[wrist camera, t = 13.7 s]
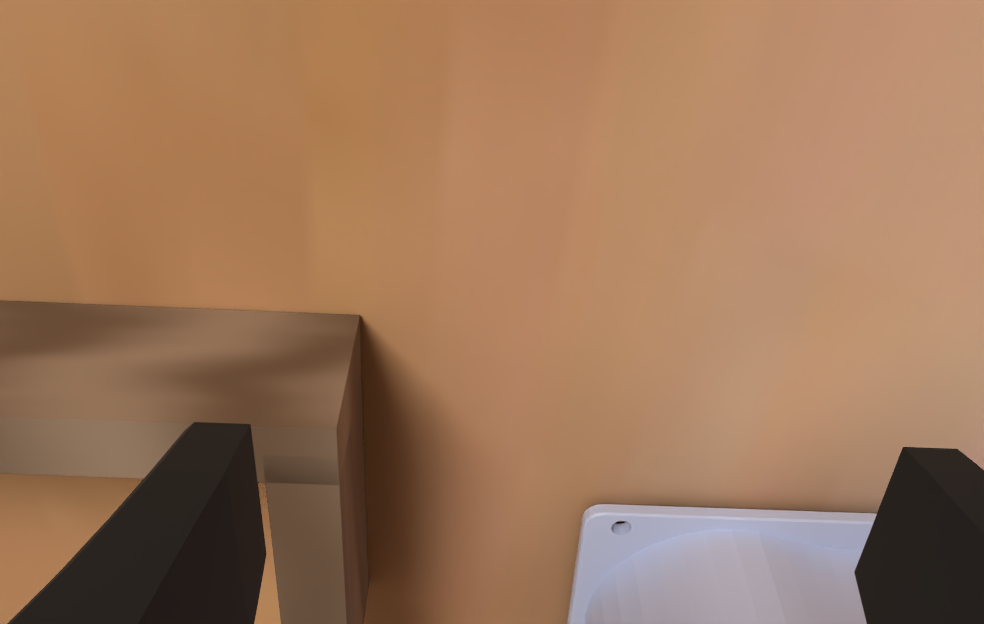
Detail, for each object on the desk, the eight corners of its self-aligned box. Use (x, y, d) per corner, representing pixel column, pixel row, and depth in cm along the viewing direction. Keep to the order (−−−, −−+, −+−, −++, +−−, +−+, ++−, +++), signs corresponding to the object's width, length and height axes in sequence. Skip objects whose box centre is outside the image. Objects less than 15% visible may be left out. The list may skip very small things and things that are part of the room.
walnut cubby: (359, 315, 22) (336, 429, 18) (368, 584, 27) (351, 712, 24) (-375, 285, 21) (-535, 397, 18) (-224, 565, 26) (-326, 693, 23)
